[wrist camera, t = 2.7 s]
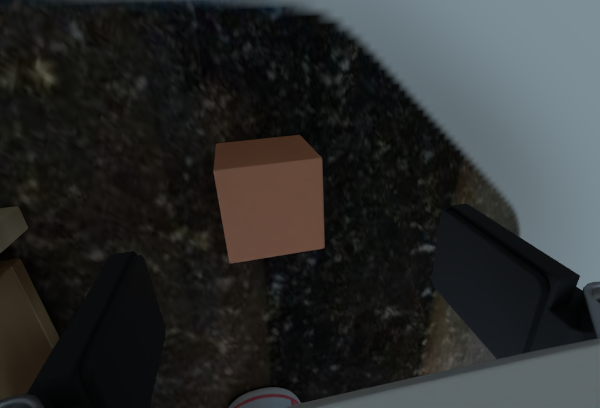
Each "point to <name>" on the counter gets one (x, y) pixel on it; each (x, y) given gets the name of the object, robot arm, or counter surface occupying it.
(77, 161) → the counter surface
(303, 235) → the block
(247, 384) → the counter surface
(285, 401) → the pill bottle
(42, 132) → the counter surface
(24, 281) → the drawer
